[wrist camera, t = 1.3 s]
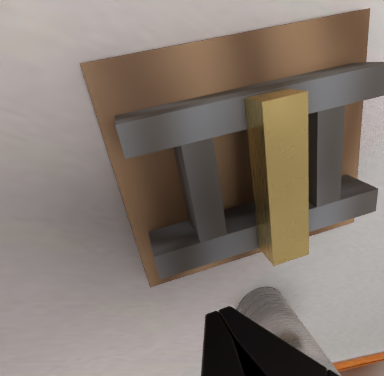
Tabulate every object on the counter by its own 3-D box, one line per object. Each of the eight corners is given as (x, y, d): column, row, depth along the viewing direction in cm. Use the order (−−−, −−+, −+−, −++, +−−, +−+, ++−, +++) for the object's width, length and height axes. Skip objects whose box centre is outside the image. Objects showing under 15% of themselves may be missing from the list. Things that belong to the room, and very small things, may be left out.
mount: (149, 280, 23) (155, 317, 20) (81, 63, 16) (73, 63, 13) (347, 217, 26) (383, 240, 22) (360, 10, 19) (414, -2, 16)
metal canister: (239, 331, 28) (319, 497, 17) (234, 296, 26) (320, 458, 15) (282, 315, 29) (385, 465, 18) (280, 280, 27) (394, 425, 16)
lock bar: (258, 247, 19) (273, 265, 18) (244, 97, 15) (262, 101, 13) (290, 237, 20) (308, 254, 18) (285, 88, 16) (308, 91, 14)
